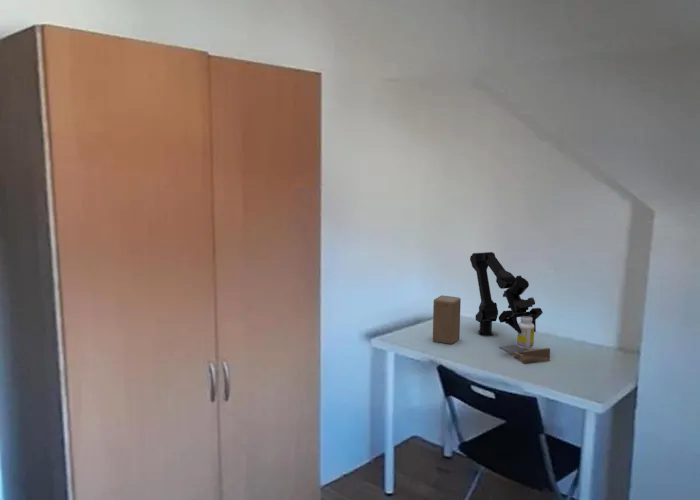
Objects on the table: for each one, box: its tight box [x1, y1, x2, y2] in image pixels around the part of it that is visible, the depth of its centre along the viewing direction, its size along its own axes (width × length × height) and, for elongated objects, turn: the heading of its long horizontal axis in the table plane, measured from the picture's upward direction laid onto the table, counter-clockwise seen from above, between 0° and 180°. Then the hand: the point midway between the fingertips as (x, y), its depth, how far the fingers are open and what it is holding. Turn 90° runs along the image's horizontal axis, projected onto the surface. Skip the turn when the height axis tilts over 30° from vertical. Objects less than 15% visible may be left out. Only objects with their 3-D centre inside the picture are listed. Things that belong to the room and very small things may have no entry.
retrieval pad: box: [499, 344, 529, 356], centre depth 263 cm, size 10×10×1 cm
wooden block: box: [432, 295, 461, 345], centre depth 275 cm, size 10×10×20 cm
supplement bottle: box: [516, 316, 535, 350], centre depth 254 cm, size 7×7×13 cm
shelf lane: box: [513, 347, 551, 364], centre depth 251 cm, size 7×12×5 cm, turn 108°
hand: (527, 332), depth 253 cm, fingers closed on supplement bottle, 7 cm apart
